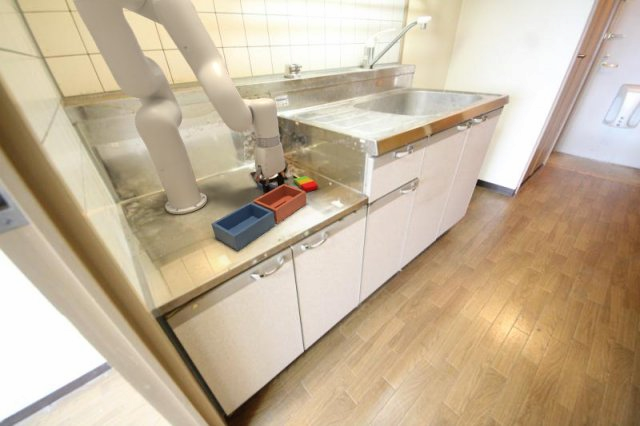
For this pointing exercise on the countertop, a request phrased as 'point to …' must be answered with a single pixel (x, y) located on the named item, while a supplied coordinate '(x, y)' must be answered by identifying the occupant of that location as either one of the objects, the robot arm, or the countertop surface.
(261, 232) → the blue bin
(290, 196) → the terracotta spoon
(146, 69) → the robot arm
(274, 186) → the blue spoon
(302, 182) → the popsicle
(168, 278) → the countertop surface
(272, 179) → the hamburger
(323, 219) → the countertop surface
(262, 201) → the terracotta bin
